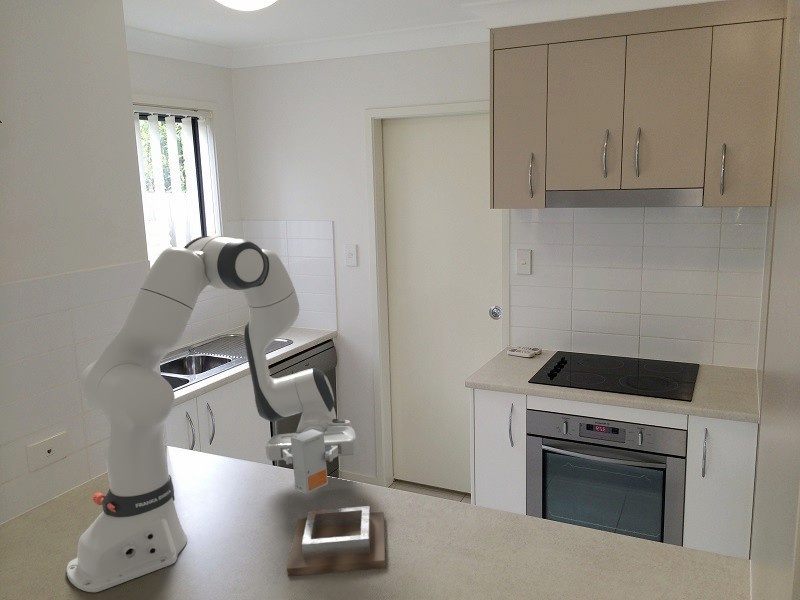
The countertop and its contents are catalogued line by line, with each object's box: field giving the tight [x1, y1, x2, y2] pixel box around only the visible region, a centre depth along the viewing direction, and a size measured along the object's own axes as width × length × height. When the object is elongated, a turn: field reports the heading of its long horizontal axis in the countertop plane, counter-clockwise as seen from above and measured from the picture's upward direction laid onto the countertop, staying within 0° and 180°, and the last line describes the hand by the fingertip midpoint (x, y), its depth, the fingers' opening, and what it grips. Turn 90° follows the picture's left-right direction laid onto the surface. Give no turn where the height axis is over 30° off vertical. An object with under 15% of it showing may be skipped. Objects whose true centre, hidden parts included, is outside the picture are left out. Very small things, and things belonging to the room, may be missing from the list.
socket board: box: [286, 505, 386, 577], centre depth 133 cm, size 18×18×4 cm
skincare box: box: [291, 429, 329, 495], centre depth 146 cm, size 6×4×12 cm
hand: (308, 459), depth 145 cm, fingers closed on skincare box, 7 cm apart
